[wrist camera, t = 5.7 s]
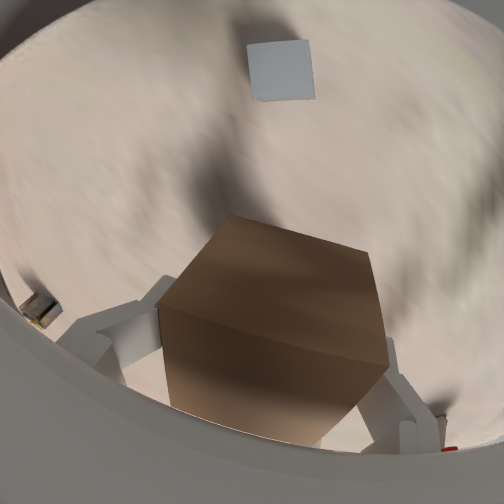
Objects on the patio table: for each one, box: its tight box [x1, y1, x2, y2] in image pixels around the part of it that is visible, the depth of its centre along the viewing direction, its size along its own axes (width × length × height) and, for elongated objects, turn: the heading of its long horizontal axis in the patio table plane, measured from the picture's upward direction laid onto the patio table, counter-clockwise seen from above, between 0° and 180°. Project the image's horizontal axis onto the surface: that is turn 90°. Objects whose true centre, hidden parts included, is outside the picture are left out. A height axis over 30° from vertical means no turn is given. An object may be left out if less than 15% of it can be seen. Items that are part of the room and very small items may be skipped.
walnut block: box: [158, 215, 390, 446], centre depth 8 cm, size 5×5×5 cm
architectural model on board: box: [19, 292, 63, 330], centre depth 49 cm, size 11×3×10 cm, turn 89°
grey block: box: [247, 40, 315, 102], centre depth 20 cm, size 5×5×5 cm
